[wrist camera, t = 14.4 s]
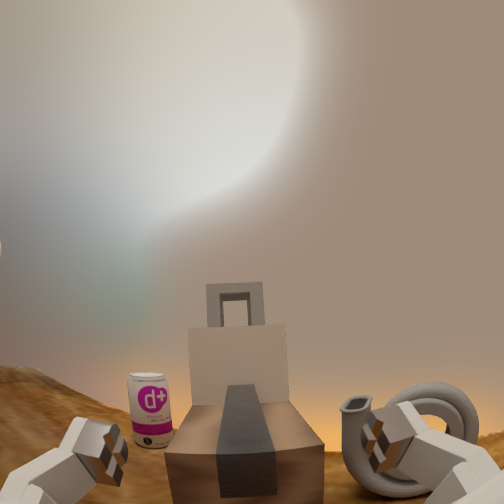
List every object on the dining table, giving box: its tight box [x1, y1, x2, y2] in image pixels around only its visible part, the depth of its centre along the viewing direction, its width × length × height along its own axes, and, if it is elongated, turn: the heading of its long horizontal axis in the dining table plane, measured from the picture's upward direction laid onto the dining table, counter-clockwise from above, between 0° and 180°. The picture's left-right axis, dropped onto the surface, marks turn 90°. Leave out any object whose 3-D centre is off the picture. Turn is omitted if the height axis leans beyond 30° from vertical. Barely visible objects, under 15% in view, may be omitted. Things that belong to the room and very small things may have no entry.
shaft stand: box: [188, 282, 289, 405], centre depth 37 cm, size 12×10×29 cm
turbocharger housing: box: [340, 382, 479, 498], centre depth 24 cm, size 17×6×15 cm, turn 60°
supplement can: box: [127, 372, 174, 448], centre depth 49 cm, size 8×8×15 cm
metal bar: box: [216, 384, 277, 498], centre depth 21 cm, size 3×20×3 cm, turn 3°
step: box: [164, 401, 324, 504], centre depth 23 cm, size 12×16×14 cm
